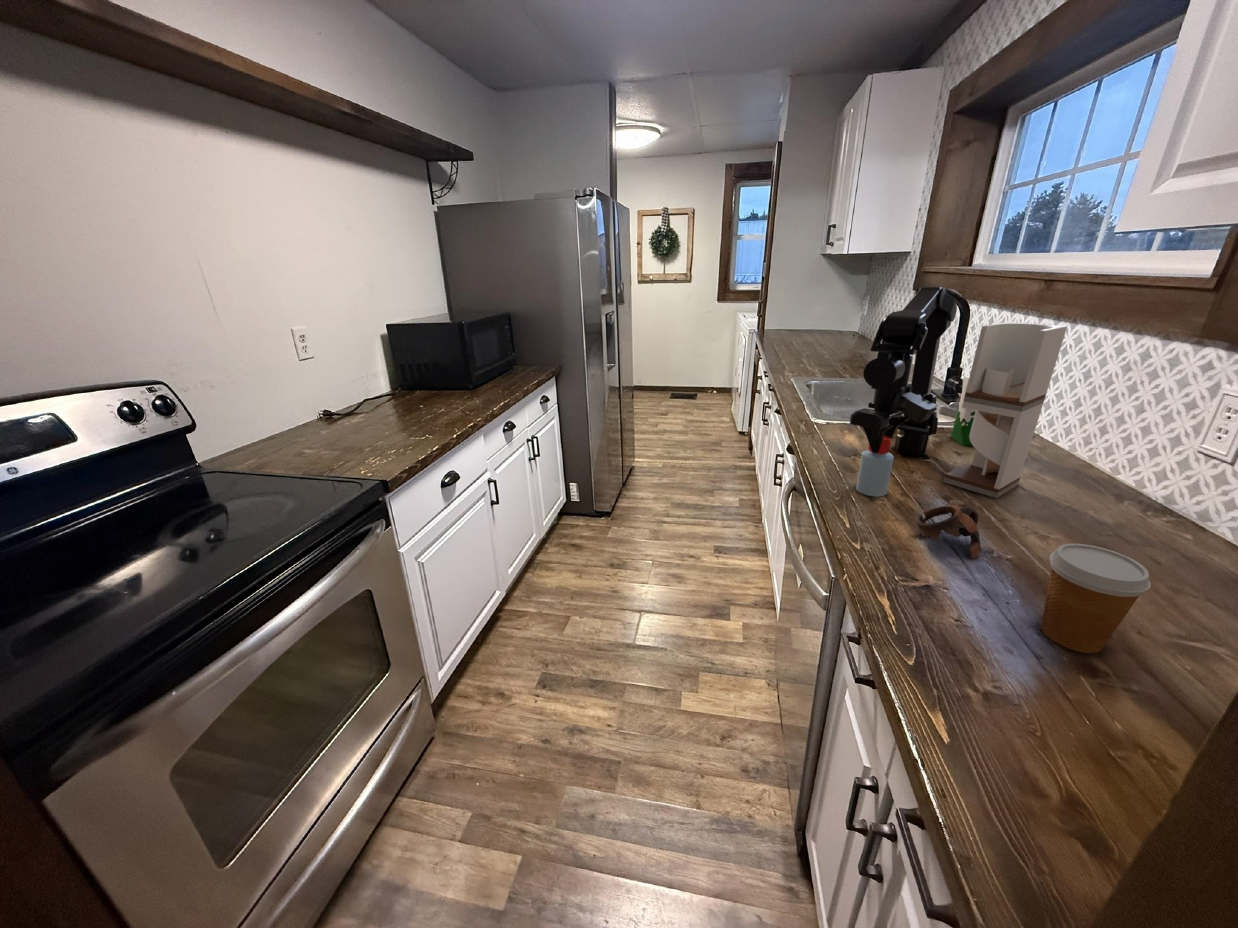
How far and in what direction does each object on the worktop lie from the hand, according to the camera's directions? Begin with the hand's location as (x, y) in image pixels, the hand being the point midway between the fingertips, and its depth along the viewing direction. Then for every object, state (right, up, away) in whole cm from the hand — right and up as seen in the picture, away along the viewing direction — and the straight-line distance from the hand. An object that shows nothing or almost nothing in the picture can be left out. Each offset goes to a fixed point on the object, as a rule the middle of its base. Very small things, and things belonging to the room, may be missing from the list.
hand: (879, 450), depth 107 cm
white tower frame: (+26, -8, +6) cm, 28 cm away
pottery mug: (+4, -18, -17) cm, 25 cm away
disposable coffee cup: (+5, -27, -40) cm, 48 cm away
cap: (0, 0, 0) cm, 0 cm away
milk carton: (+43, +3, +33) cm, 54 cm away
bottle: (0, -9, +4) cm, 10 cm away
